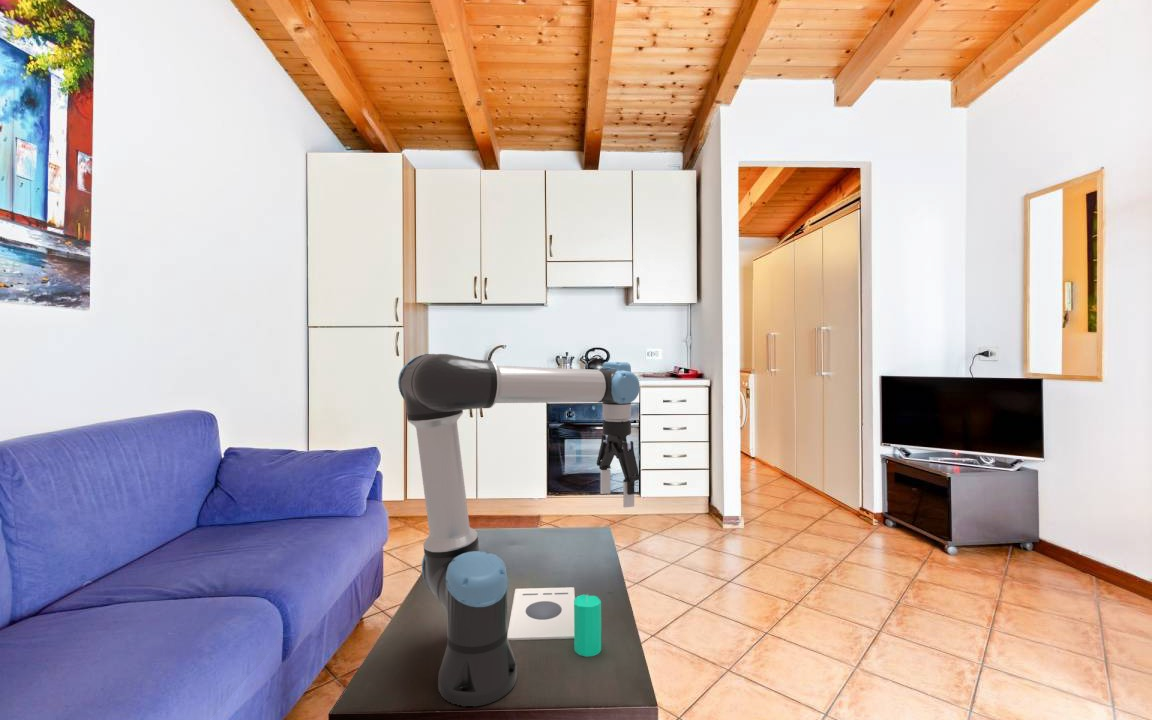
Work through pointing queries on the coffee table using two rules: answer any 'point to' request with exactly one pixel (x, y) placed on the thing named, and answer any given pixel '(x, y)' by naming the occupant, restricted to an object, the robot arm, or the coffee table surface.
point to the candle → (587, 625)
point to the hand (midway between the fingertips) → (616, 499)
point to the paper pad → (542, 614)
